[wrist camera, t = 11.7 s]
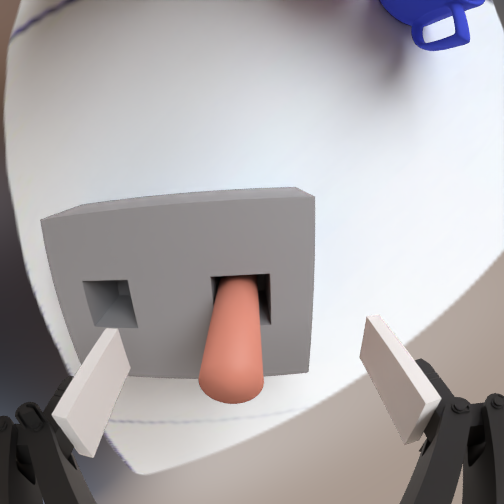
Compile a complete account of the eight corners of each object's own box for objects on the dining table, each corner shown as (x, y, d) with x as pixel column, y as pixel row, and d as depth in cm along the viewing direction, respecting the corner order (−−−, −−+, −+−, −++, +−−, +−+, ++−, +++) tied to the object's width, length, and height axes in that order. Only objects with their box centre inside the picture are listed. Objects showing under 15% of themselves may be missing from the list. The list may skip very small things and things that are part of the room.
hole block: (109, 332, 29) (84, 371, 22) (82, 204, 24) (40, 219, 18) (295, 328, 29) (308, 372, 22) (295, 187, 25) (315, 196, 18)
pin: (221, 255, 25) (194, 358, 12) (256, 253, 25) (263, 357, 12) (223, 286, 26) (203, 403, 13) (256, 285, 26) (263, 403, 13)
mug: (375, 54, 21) (431, 18, 12) (363, -31, 18) (400, -78, 8) (441, 74, 21) (504, 56, 12) (425, -10, 18) (472, -42, 8)
